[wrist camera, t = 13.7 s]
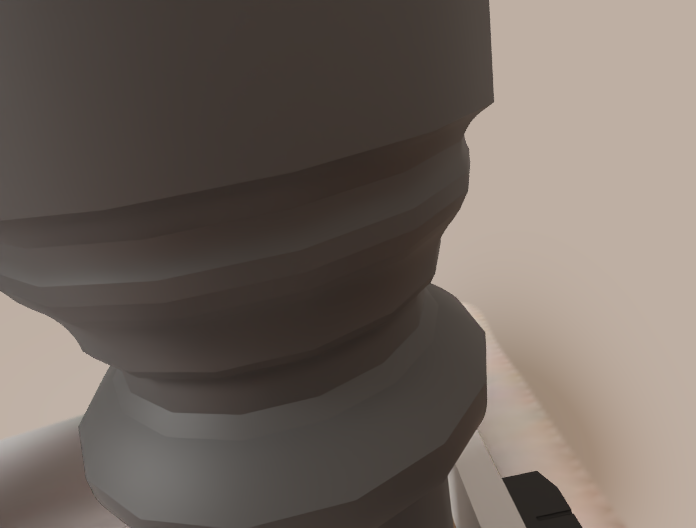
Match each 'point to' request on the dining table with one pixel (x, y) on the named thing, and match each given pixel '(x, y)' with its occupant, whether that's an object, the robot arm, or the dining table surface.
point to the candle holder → (251, 247)
